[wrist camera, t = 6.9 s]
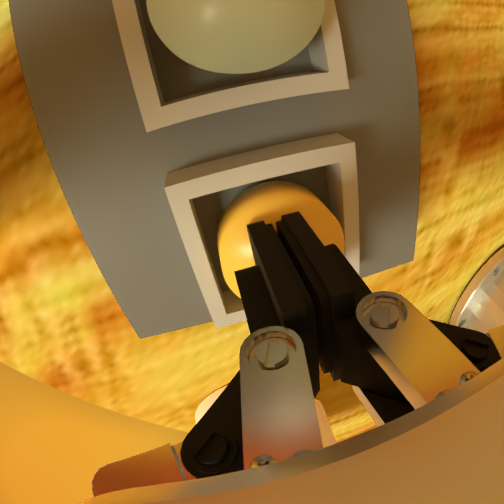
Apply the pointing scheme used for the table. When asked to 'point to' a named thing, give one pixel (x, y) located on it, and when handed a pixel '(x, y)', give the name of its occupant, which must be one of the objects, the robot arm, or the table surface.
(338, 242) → the amber button
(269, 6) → the sage button
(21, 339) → the table surface
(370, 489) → the robot arm
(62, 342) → the table surface
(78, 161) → the button panel
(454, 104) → the table surface
